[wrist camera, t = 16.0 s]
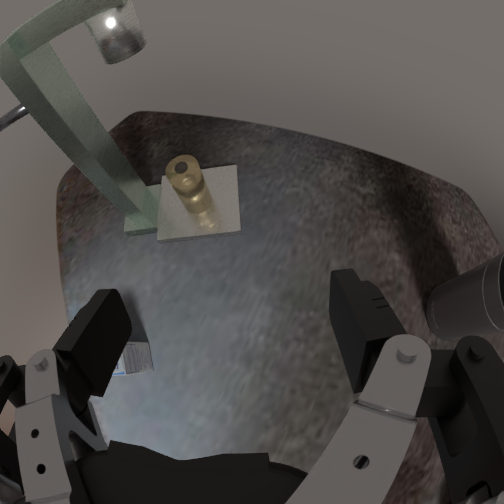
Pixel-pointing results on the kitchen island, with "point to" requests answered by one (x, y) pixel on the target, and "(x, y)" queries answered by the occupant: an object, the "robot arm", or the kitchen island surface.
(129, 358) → the medicine box
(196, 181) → the housing
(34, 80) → the press bed
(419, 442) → the kitchen island surface
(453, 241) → the kitchen island surface
